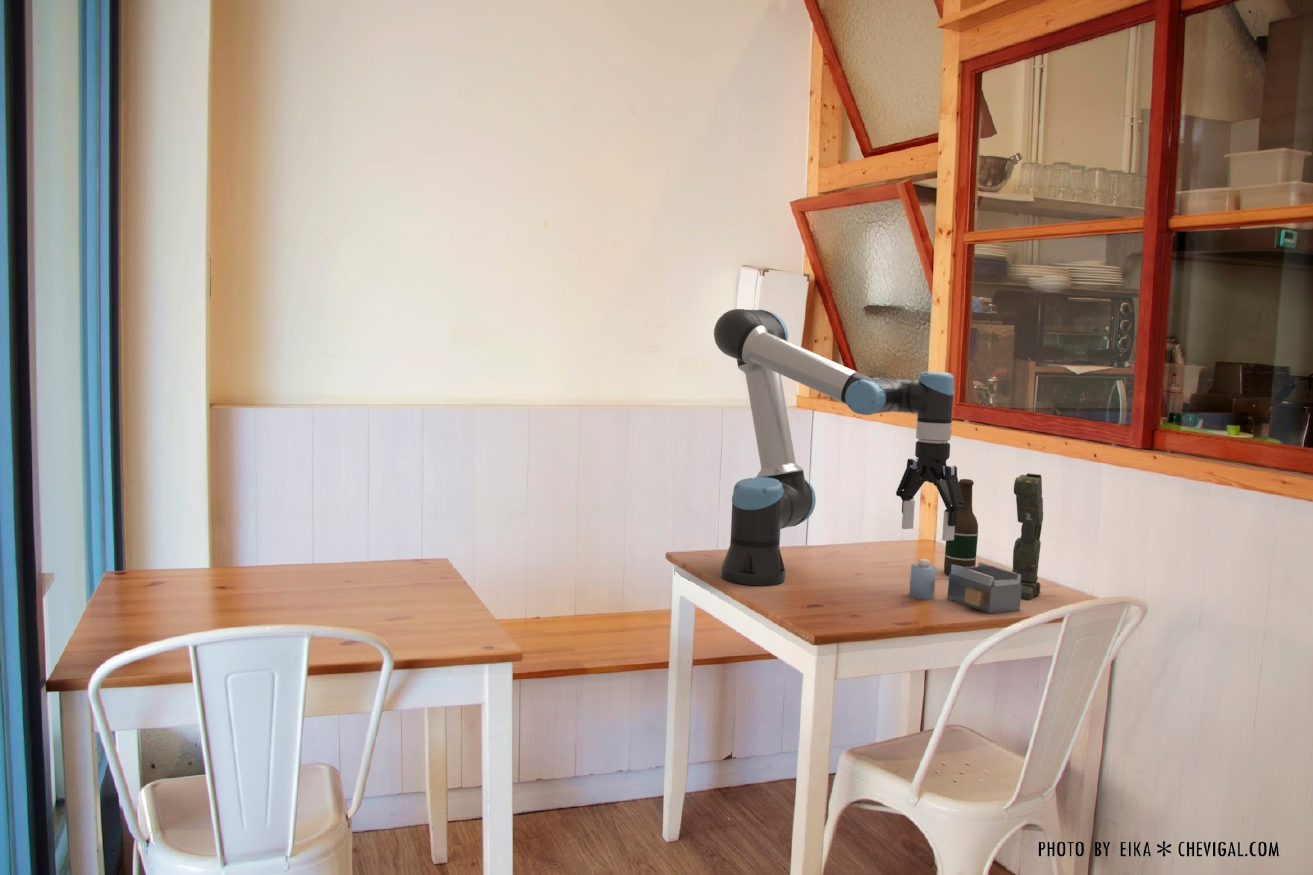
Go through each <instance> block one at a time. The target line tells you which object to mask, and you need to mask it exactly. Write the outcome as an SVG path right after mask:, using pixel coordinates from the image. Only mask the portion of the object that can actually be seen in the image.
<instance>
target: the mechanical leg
mask: <svg viewBox="0 0 1313 875" xmlns="http://www.w3.org/2000/svg"><path fill="white" fill-rule="evenodd" d="M1042 479H1043V478H1042V475H1041V474H1038V473H1037V474H1036V473H1028V472H1027V473H1026V474H1020V475H1019V477H1016V478H1015V480H1014V484H1013V494H1014V495H1015V500H1016V501H1015V502H1016V503H1015V504H1016V514H1017V522H1018V523H1019V524H1020V523H1021V528H1020V533H1021V534H1020V535H1021V536H1020V537H1018V538H1016V539H1015V541H1014V545H1013V549H1012V551H1013V552H1012V572H1015V573H1018V574H1021V581H1020V583H1021V584H1022V590H1021V600H1022V599H1023V600H1027V601H1030V600H1032V599H1034V598H1035V597H1036V596H1039V595H1040V593H1041V583H1040V582H1038V580H1039V578H1038V577H1039V576H1038V572H1039V562H1040V553H1041V544H1042V541H1041V534H1042V525H1043V521H1044V500H1043V499H1044V498H1043V484H1042V483H1043V482H1042V481H1043V480H1042Z"/></svg>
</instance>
